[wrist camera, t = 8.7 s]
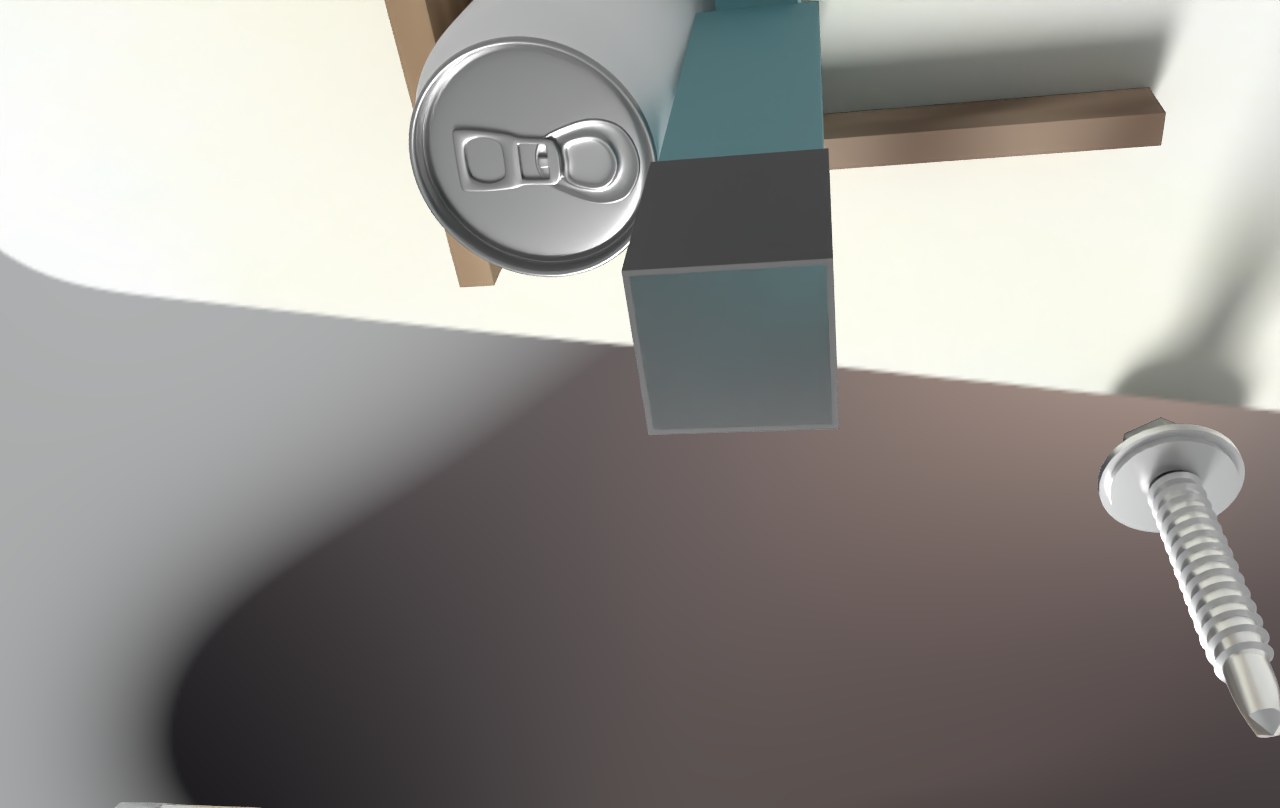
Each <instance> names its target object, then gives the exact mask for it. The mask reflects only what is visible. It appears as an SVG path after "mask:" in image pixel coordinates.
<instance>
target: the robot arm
mask: <svg viewBox="0 0 1280 808" xmlns="http://www.w3.org/2000/svg"><path fill="white" fill-rule="evenodd" d="M115 808H250V807H225V806H197V805H176V804H169V803H132V802H130V803H129V802H128V803H127V802H120V803H119V804H118V805H117V806H116V807H115ZM251 808H253V807H251Z"/></svg>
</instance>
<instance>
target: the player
mask: <svg viewBox="0 0 1280 808" xmlns="http://www.w3.org/2000/svg"><path fill="white" fill-rule="evenodd" d="M715 6H716V11H711V12H701V13H696V15H695V18H694V22H693V26H692V30H691V34H690V38H689V42H688V46H687V50H686V54H685V58H684V62H683V66H682V70H681V74H680V77H679V81H678V85H677V89H676V93H675V97H674V101H673V105H672V109H671V113H670V117H669V121H668V125H667V129H666V133H665V136H664V140H663V144H662V148H661V152H660V156H659V160H658V161H655V162H651V163H650V167H649V170H648V174H647V178H646V182H645V185H644V189H643V193H642V197H641V200H640V204H639V208H638V212H637V215H636V219H635V223H634V227H633V230H632V234H631V238H630V242H629V245H628V249H627V253H626V257H625V260H624V264H623V268H622V276H623V282H624V288H625V294H626V300H627V306H628V312H629V319H630V325H631V331H632V337H633V343H634V349H635V355H636V360H637V367H638V373H639V379H640V385H641V391H642V398H643V404H644V410H645V416H646V422H647V428H648V434H649V435H660V434H692V433H721V432H752V431H783V430H814V429H839V413H838V383H837V357H836V330H835V303H834V276H833V250H832V224H831V199H830V173H829V148H825V149H824V129H823V101H822V76H821V51H820V26H819V1H811V2H802V0H715Z"/></svg>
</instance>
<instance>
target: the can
mask: <svg viewBox="0 0 1280 808" xmlns="http://www.w3.org/2000/svg"><path fill="white" fill-rule="evenodd" d="M711 11H716V6H715V0H473V1H472V2H471V3H470V4H469V5H468V6H467V7H466V8H465V10H464V11H463V12H462V13H461V14H460V15H459V16H458V17H457V18H456V19H455V20H454V21H453V23H452V24H451V25H450V26H449V27H448V29H447V30H446V31H445V32H444V33H443V35H442V36H441V37H440V38H439V40H438V41H437V43H436V44H435V46H434V48H433V49H432V51H431V53H430V55H429V56H428V58H427V60H426V62H425V65H424V67H423V70H422V72H421V75H420V79H419V82H418V87H417V92H416V100H415V106H414V109H413V113H412V117H411V122H410V128H409V153H410V160H411V165H412V170H413V173H414V177H415V180H416V183H417V185H418V188H419V190H420V192H421V194H422V197H423V198H424V200H425V202H426V204H427V206H428V207H429V209H430V210H431V212H432V213H433V215H434V216H435V218H436V219H437V220H438V221H439V223H440V224H441V225H442V226H443V227H444V229H445V230H446V231H447V232H448V233H449V234H450V235H451V236H452V237H453V238H454V239H456V240H457V241H458V242H459V243H460V244H461V245H463V246H464V247H465V248H467V249H468V250H469V251H471V252H472V253H474V254H475V255H477V256H479V257H480V258H482V259H484V260H486V261H488V262H490V263H492V264H494V265H496V266H499V267H501V268H504V269H507V270H510V271H513V272H517V273H521V274H526V275H532V276H541V277H559V276H568V275H574V274H579V273H582V272H586V271H589V270H592V269H594V268H597V267H599V266H601V265H603V264H605V263H607V262H609V261H610V260H612V259H613V258H615V257H616V256H618V255H619V254H620V253H621V252H623V251H624V250H625V249H626V248H627V247H628V245H629V242H630V238H631V234H632V230H633V227H634V223H635V219H636V215H637V212H638V208H639V204H640V200H641V197H642V193H643V189H644V185H645V182H646V178H647V174H648V170H649V167H650V163H651V162H655V161H658V160H659V156H660V152H661V148H662V144H663V140H664V136H665V133H666V129H667V125H668V121H669V117H670V113H671V109H672V105H673V101H674V97H675V93H676V89H677V85H678V81H679V77H680V74H681V70H682V66H683V62H684V58H685V54H686V50H687V46H688V42H689V38H690V34H691V30H692V26H693V22H694V18H695V15H696V13H701V12H711Z"/></svg>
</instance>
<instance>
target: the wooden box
mask: <svg viewBox="0 0 1280 808" xmlns="http://www.w3.org/2000/svg"><path fill="white" fill-rule="evenodd" d="M472 1H473V0H385V4H386V8H387V12H388V16H389V19H390V23H391V27H392V31H393V34H394V38H395V42H396V46H397V50H398V53H399V57H400V61H401V65H402V69H403V72H404V76H405V80H406V84H407V88H408V91H409V95H410V99H411V103H412V107H413V109H414V106H415V100H416V92H417V87H418V82H419V79H420V75H421V72H422V70H423V67H424V65H425V62H426V60H427V58H428V56H429V55H430V53H431V51H432V49H433V48H434V46H435V44H436V43H437V41H438V40H439V38H440V37H441V36H442V35H443V33H444V32H445V31H446V30H447V29H448V27H449V26H450V25H451V24H452V23H453V21H454V20H455V19H456V18H457V17H458V16H459V15H460V14H461V13H462V12H463V11H464V10H465V8H466V7H467V6H468V5H469V4H470V3H471V2H472ZM1165 115H1166V112H1165V111H1164V109H1163V108H1162V106H1161V105H1160V103H1159V102H1158V100H1157V99H1156V97H1155V96H1154V94H1153V93H1152V91H1151V90H1150V88H1149V87H1148V88H1136V89H1124V90H1112V91H1099V92H1087V93H1075V94H1063V95H1051V96H1039V97H1026V98H1014V99H1002V100H990V101H978V102H966V103H953V104H941V105H929V106H917V107H905V108H893V109H880V110H868V111H856V112H844V113H832V114H823V129H824V149H825V148H829V170H832V169H845V168H859V167H873V166H886V165H900V164H914V163H927V162H941V161H954V160H968V159H982V158H995V157H1009V156H1023V155H1036V154H1050V153H1063V152H1077V151H1091V150H1104V149H1118V148H1131V147H1145V146H1159V145H1161V142H1162V136H1163V129H1164V122H1165ZM445 232H446V236H447V239H448V243H449V247H450V251H451V255H452V258H453V262H454V266H455V270H456V274H457V277H458V281H459V285H460V287H474V286H491V285H494V284H495V282H496V280H497V278H498V275H499V273H500V271H501V269H502V268H501V267H499V266H496V265H494V264H492V263H490V262H488V261H486V260H484V259H482V258H480V257H479V256H477V255H475V254H474V253H472V252H471V251H469V250H468V249H467V248H465V247H464V246H463V245H461V244H460V243H459V242H458V241H457V240H456V239H454V238H453V237H452V236H451V235H450V234H449V233H448V232H447V231H446V230H445Z"/></svg>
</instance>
